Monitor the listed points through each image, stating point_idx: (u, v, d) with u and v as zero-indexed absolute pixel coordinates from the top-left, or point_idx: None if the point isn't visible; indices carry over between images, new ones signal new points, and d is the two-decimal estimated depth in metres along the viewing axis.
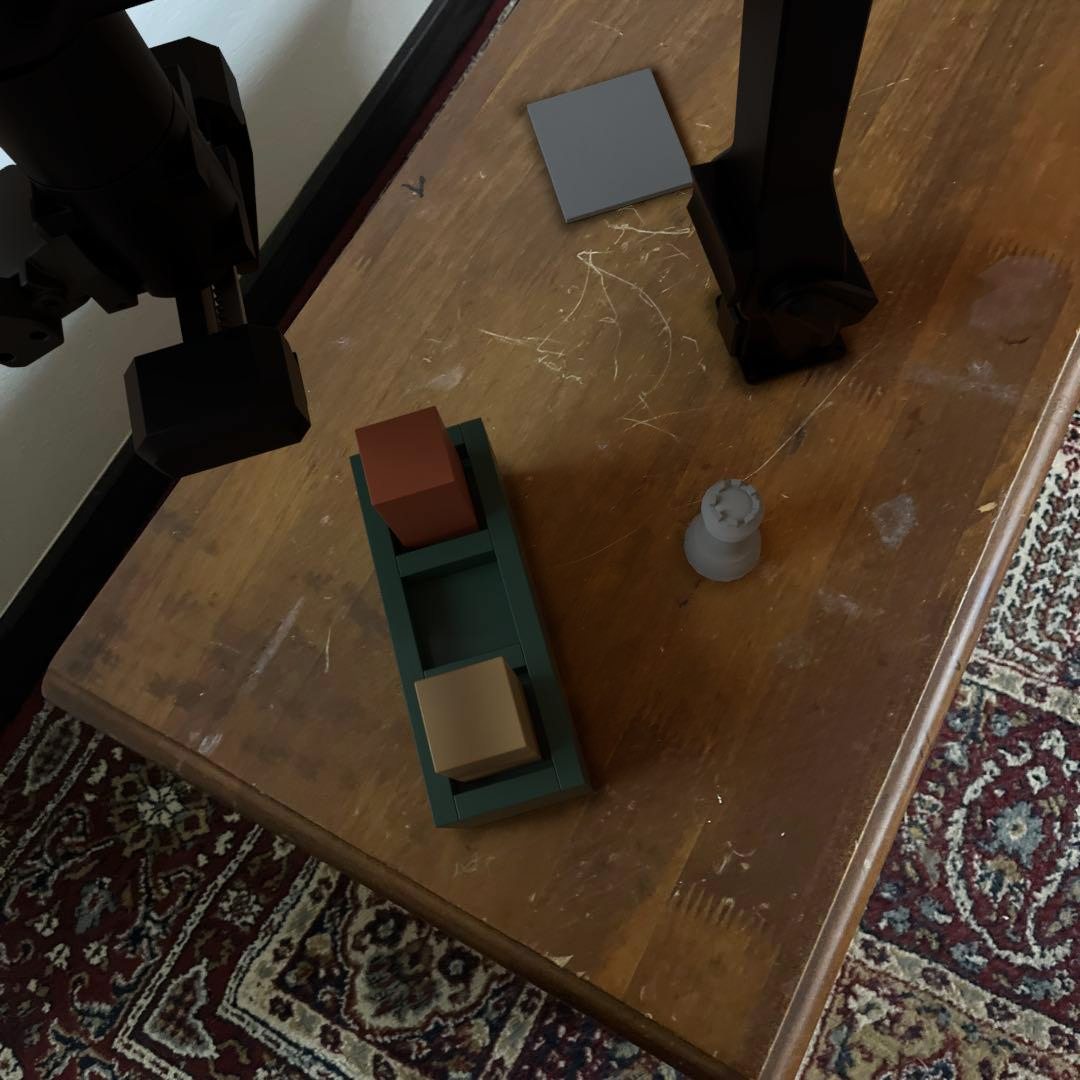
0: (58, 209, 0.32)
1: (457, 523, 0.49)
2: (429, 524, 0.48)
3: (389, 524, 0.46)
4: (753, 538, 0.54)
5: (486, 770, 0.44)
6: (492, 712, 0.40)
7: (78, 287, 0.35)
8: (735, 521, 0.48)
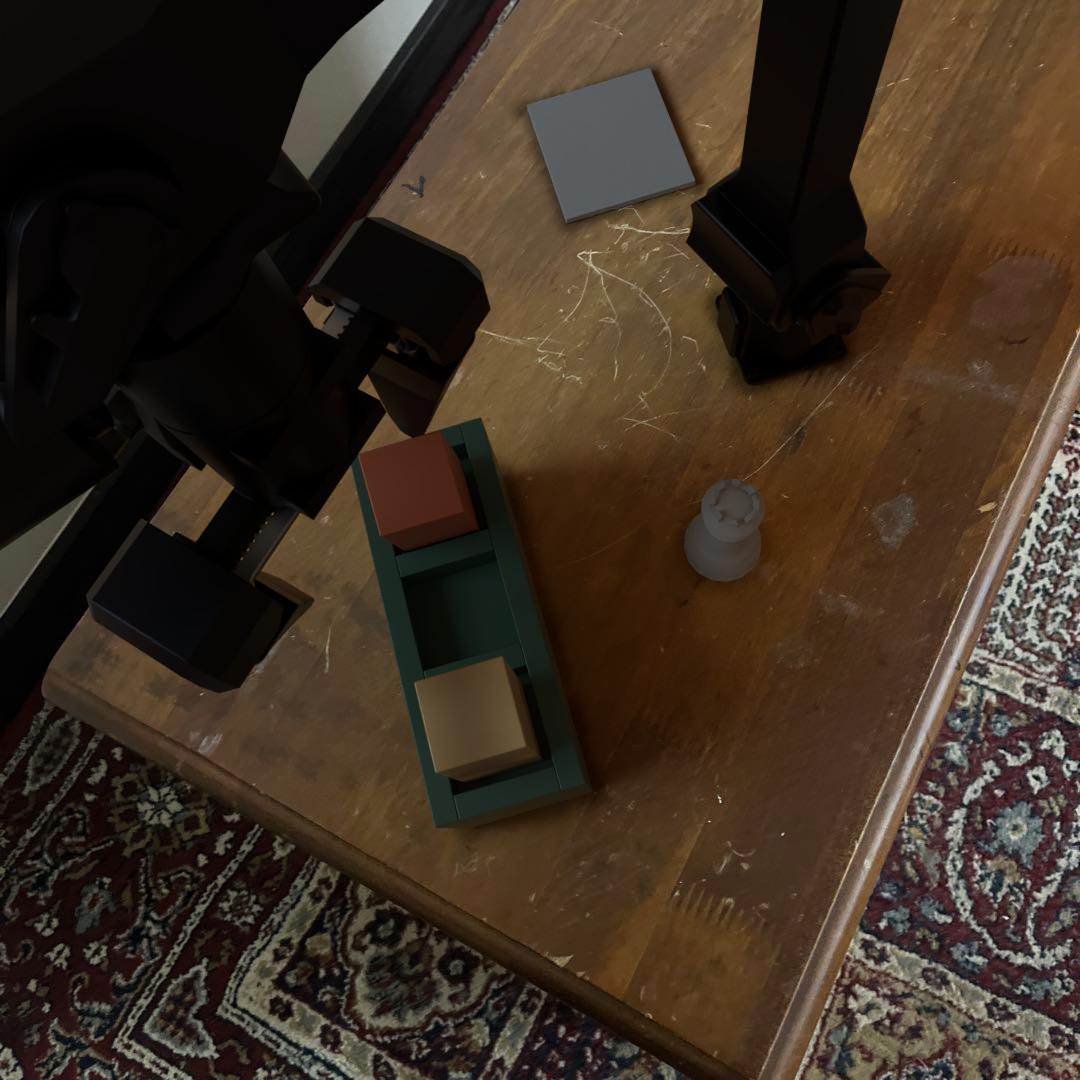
0: None
1: (459, 532, 0.49)
2: (432, 537, 0.48)
3: (394, 543, 0.46)
4: (753, 538, 0.54)
5: (486, 770, 0.44)
6: (492, 712, 0.40)
7: None
8: (735, 521, 0.48)
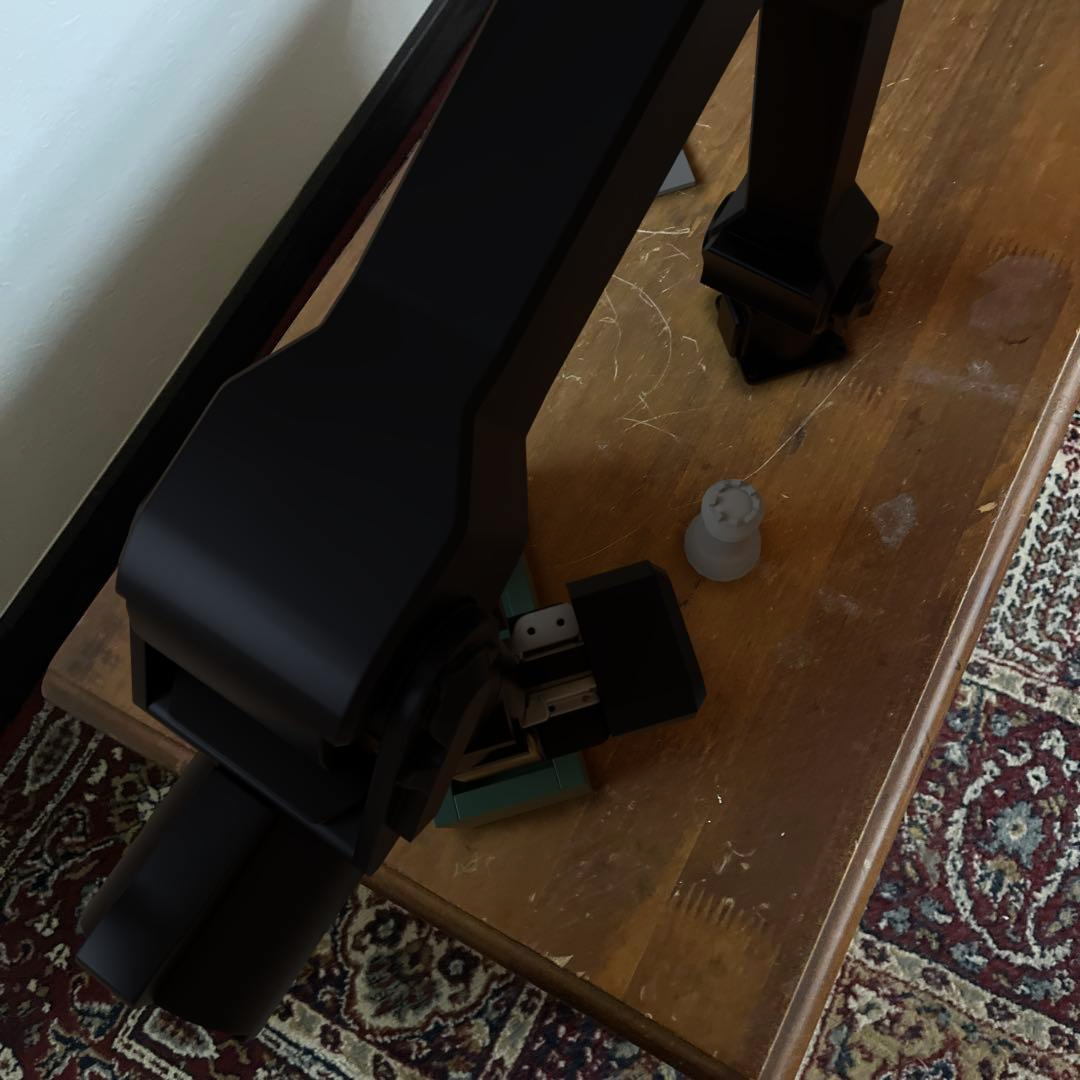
0: None
1: None
2: None
3: None
4: (753, 538, 0.54)
5: (486, 770, 0.44)
6: None
7: None
8: (735, 521, 0.48)
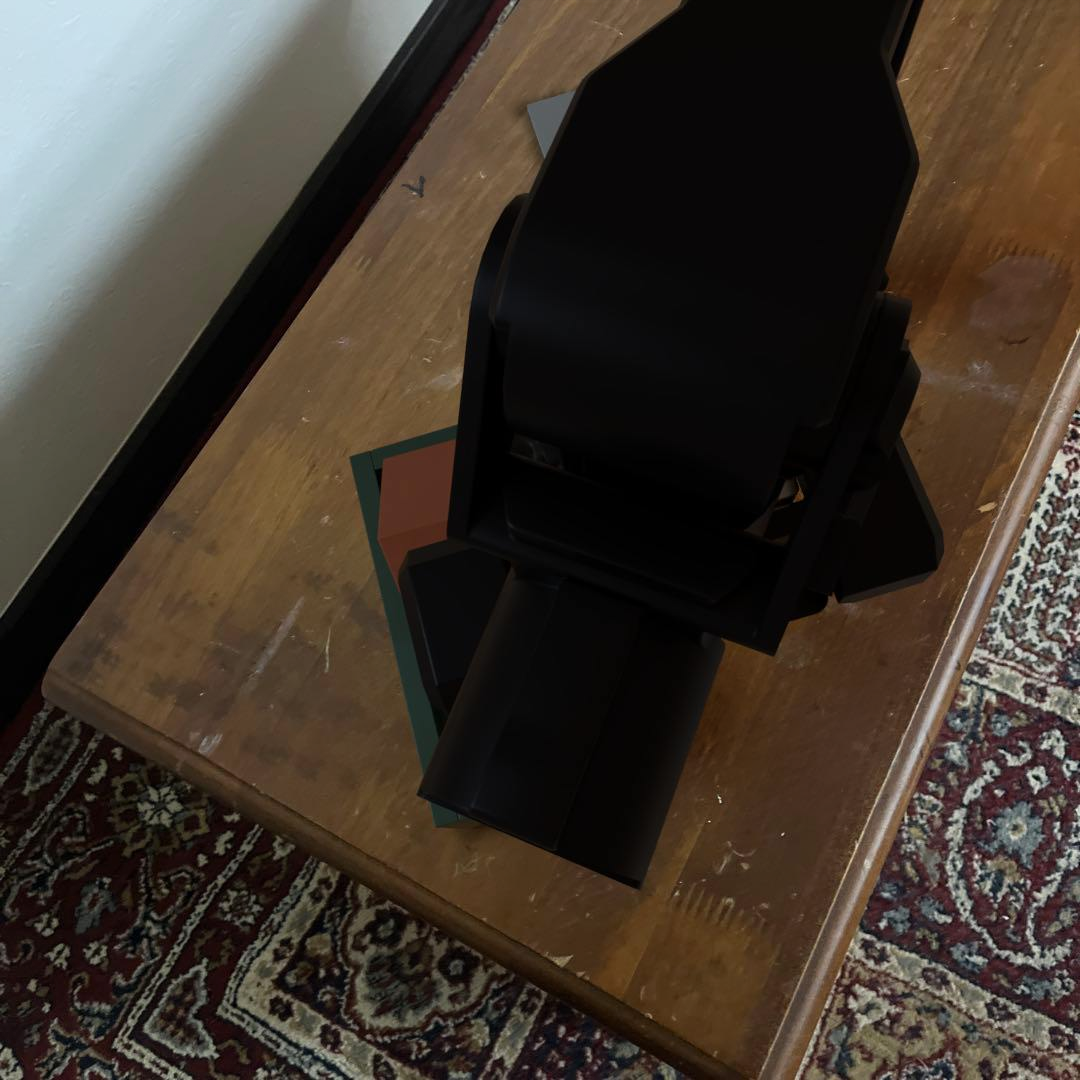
0: None
1: None
2: None
3: None
4: None
5: None
6: None
7: None
8: None
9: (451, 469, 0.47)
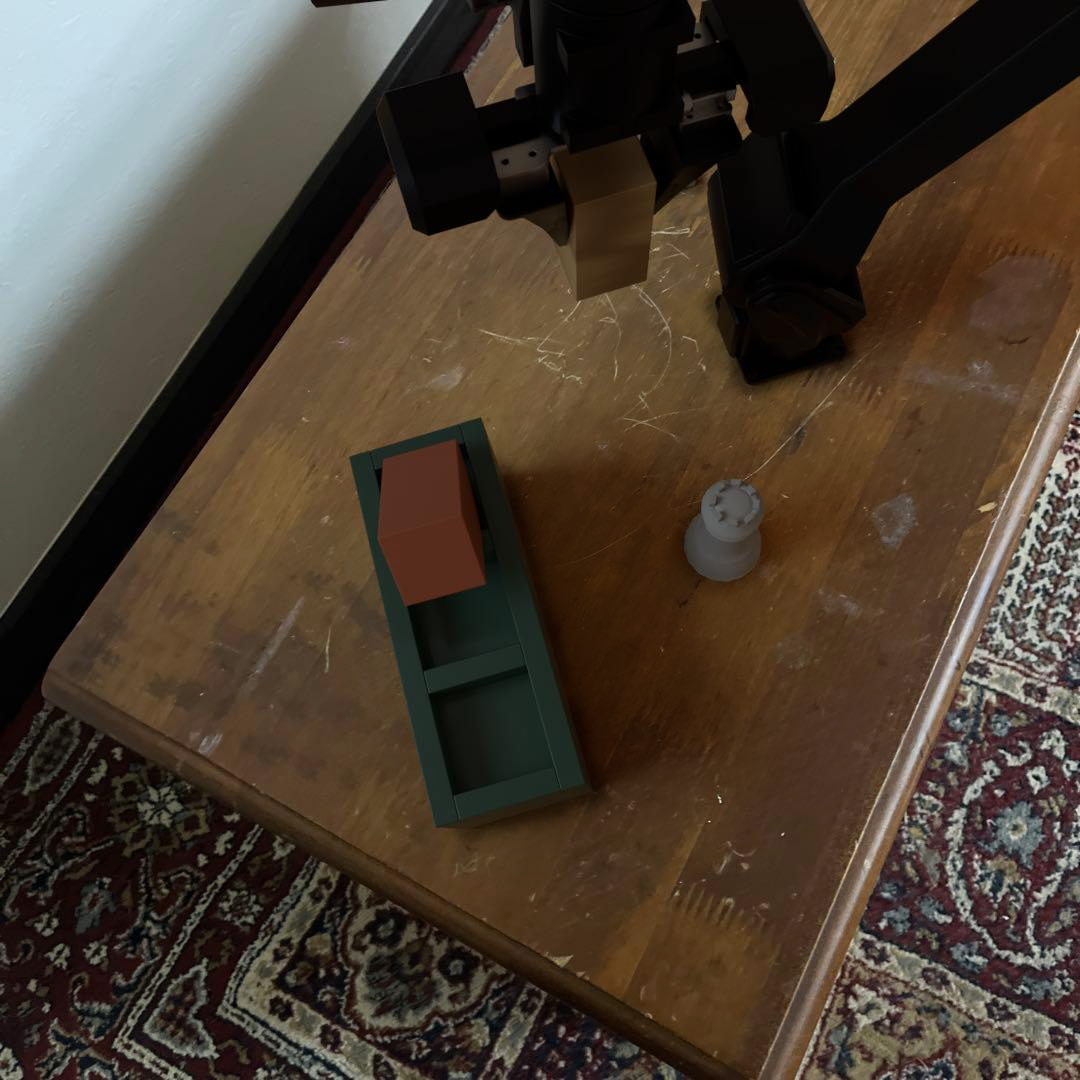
0: None
1: None
2: None
3: None
4: (753, 538, 0.54)
5: (604, 254, 0.47)
6: (623, 157, 0.44)
7: None
8: (735, 521, 0.48)
9: (451, 469, 0.47)
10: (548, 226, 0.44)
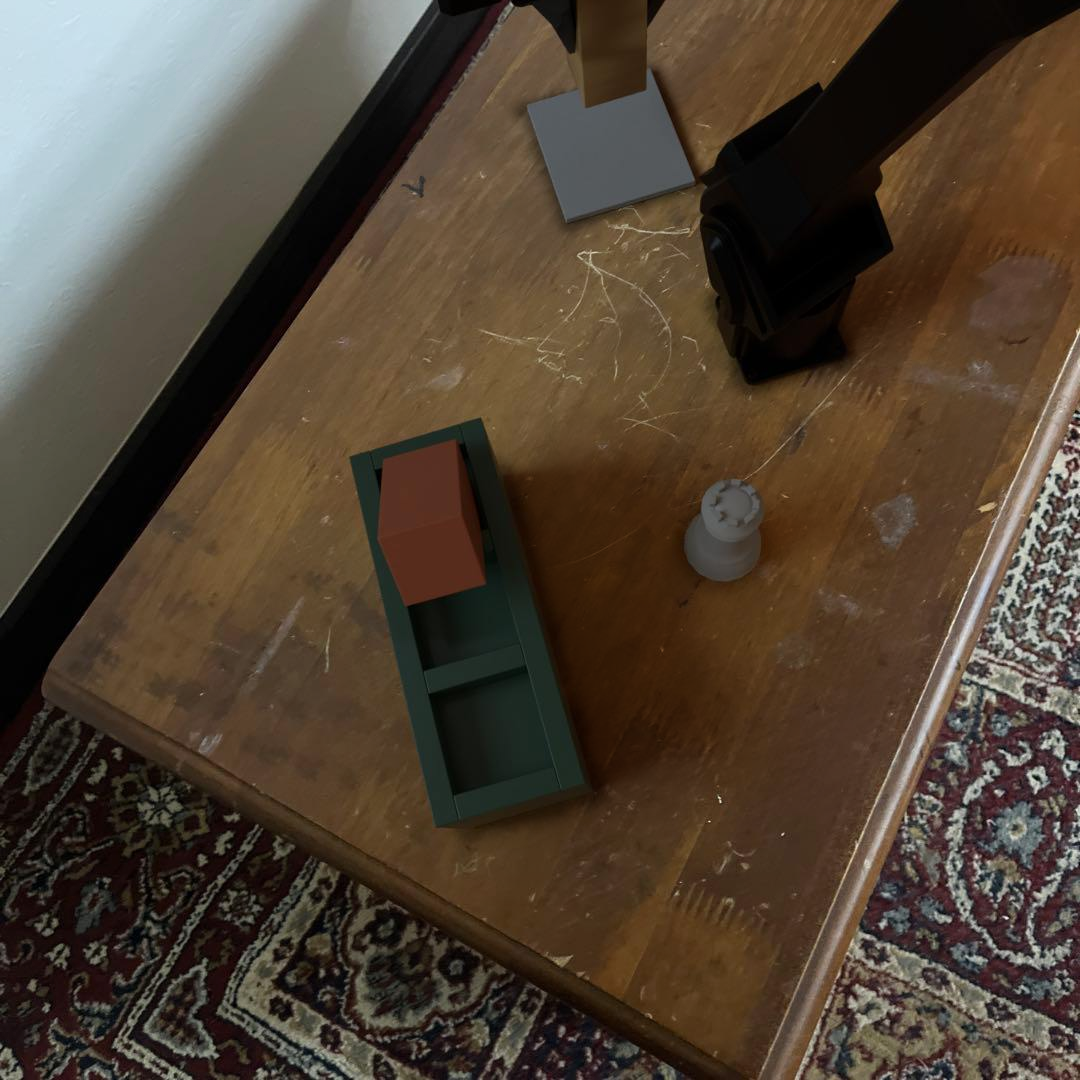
0: None
1: None
2: None
3: None
4: (753, 538, 0.54)
5: (606, 57, 0.55)
6: None
7: None
8: (735, 521, 0.48)
9: (451, 469, 0.47)
10: (555, 21, 0.52)
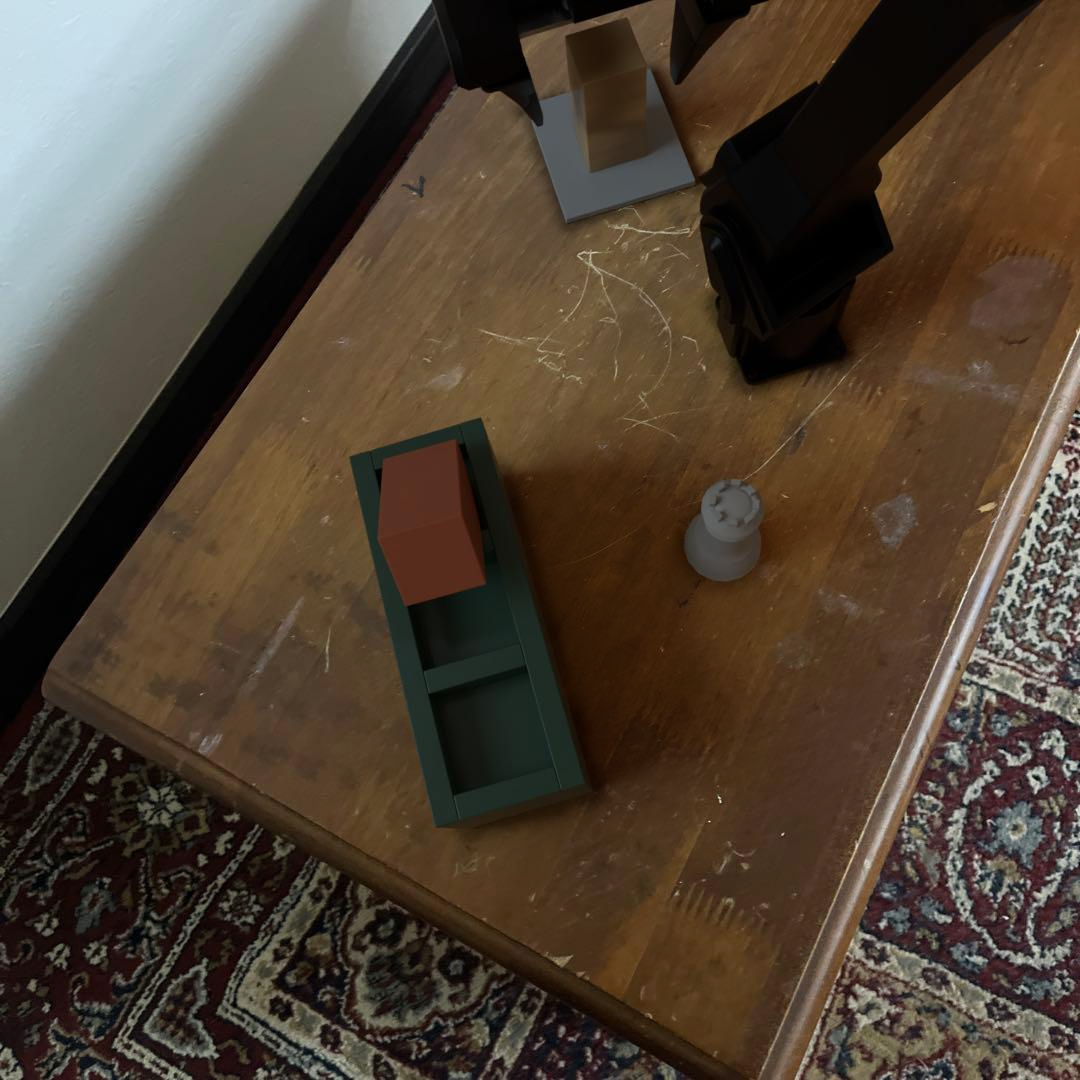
0: None
1: None
2: None
3: None
4: (753, 538, 0.54)
5: (609, 129, 0.61)
6: (621, 48, 0.57)
7: None
8: (735, 521, 0.48)
9: (451, 469, 0.47)
10: (523, 102, 0.57)
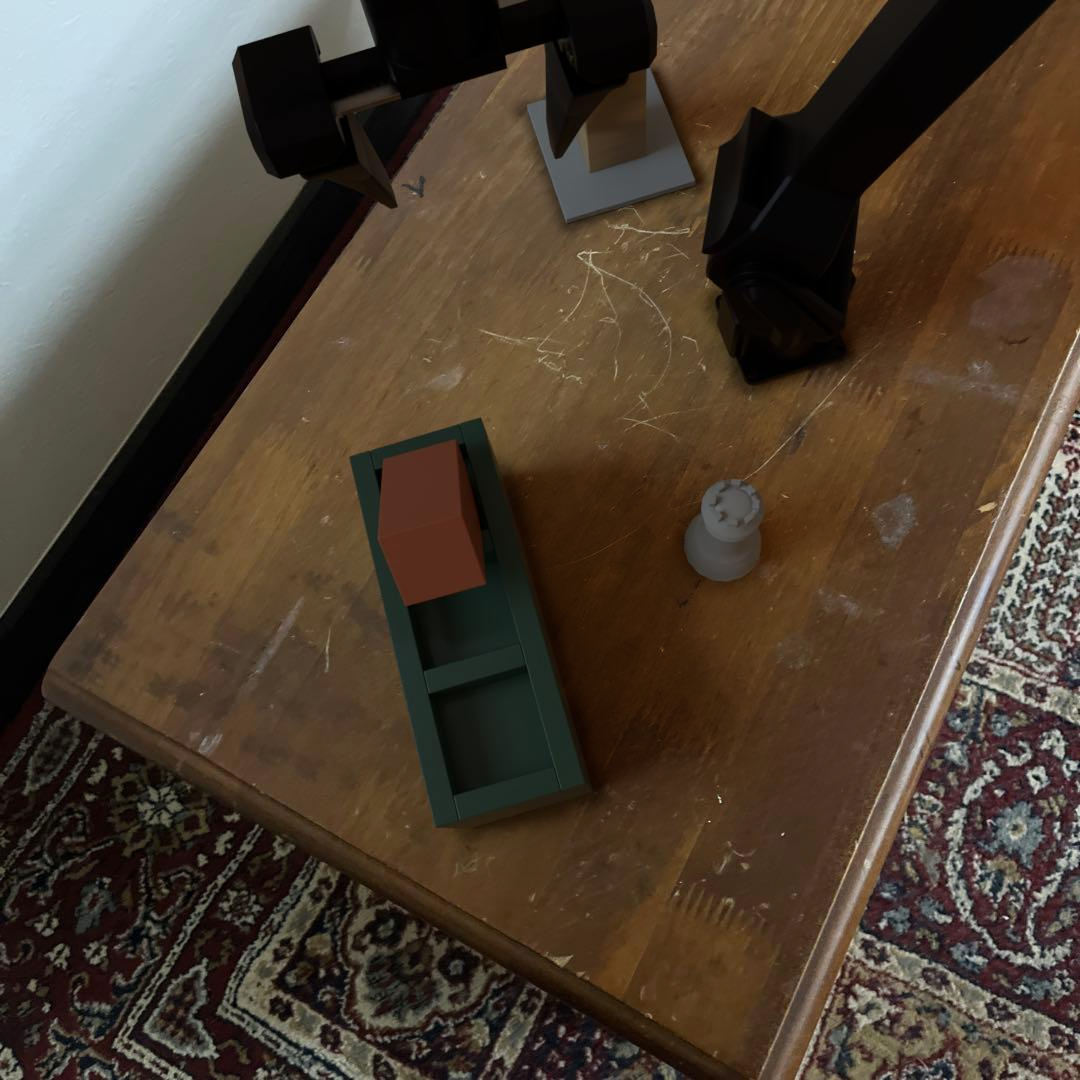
0: None
1: None
2: None
3: None
4: (753, 538, 0.54)
5: (609, 129, 0.61)
6: None
7: None
8: (735, 521, 0.48)
9: (451, 469, 0.47)
10: (359, 187, 0.47)
